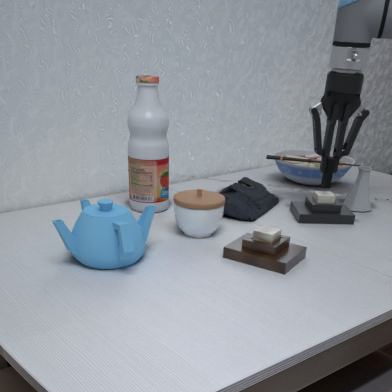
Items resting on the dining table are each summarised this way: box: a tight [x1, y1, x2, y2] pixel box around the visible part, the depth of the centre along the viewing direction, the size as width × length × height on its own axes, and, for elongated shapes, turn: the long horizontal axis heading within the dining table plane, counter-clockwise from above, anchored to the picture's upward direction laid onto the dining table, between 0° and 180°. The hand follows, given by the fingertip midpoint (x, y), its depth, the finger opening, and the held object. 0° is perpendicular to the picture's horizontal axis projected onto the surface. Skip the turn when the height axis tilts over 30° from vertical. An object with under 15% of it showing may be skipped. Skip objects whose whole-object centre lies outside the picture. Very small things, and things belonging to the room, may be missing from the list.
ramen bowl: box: [265, 148, 361, 187], centre depth 143 cm, size 25×23×8 cm
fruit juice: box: [126, 74, 170, 213], centre depth 114 cm, size 9×9×28 cm
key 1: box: [252, 224, 282, 244], centre depth 95 cm, size 4×4×2 cm
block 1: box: [222, 232, 308, 276], centre depth 97 cm, size 13×10×4 cm
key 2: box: [312, 190, 336, 204], centre depth 118 cm, size 4×4×2 cm
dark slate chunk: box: [218, 176, 280, 222], centre depth 124 cm, size 15×22×5 cm
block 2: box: [289, 195, 356, 225], centre depth 119 cm, size 13×10×4 cm
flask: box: [342, 165, 373, 213], centre depth 125 cm, size 7×7×10 cm
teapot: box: [51, 198, 156, 270], centre depth 92 cm, size 15×15×11 cm
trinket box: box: [172, 187, 225, 239], centre depth 105 cm, size 11×11×9 cm
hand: (325, 186), depth 116 cm, fingers closed
